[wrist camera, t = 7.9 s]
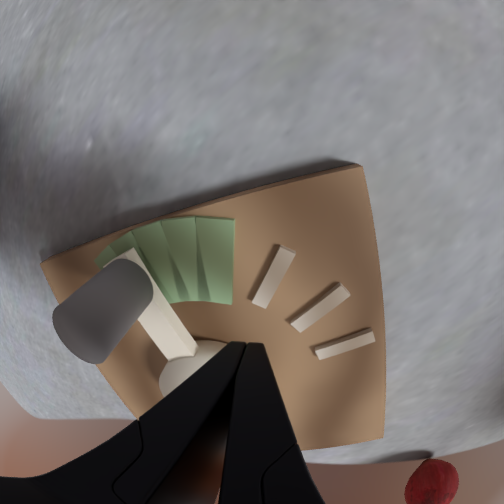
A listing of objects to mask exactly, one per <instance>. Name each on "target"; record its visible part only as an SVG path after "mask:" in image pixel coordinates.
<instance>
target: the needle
mask: <svg viewBox="0 0 504 504" xmlns="http://www.w3.org/2000/svg"><path fill="white" fill-rule="evenodd" d="M52 319H53V325H54V328H55V330H56V332H57V334H58V336H59V338H60V339H61V341H62V342H63V343H64V345H65V346H66V347H67V348H68V349H69V350H70V351H71V352H72V353H73V354H74V355H76V356H77V357H78V358H80V359H82V360H84V361H86V362H88V363H91V364H101V363H103V362H104V361H105V360H106V359H107V357H108V356H109V355H110V353H111V352H112V351H113V350H114V348H115V347H116V346H117V344H118V343H119V342H120V340H121V339H122V338H123V337H124V335H125V334H126V333H127V332H128V330H129V329H130V328H131V326H132V325H133V324H134V323H135V321H136V320H137V319H138V321H139V322H140V323H141V325H142V326H143V328H144V329H145V330H146V332H147V333H148V334H149V336H150V337H151V339H152V340H153V341H154V342H155V344H156V345H157V346H158V348H159V349H160V350H161V352H162V353H163V354H164V355H165V357H166V358H167V359H168V362H167V364H166V365H165V367H164V369H163V371H162V373H161V375H160V378H159V387H160V390H161V393H162V395H163V396H164V397H165V396H166V395H168V394H169V393H170V392H171V391H173V390H174V389H175V388H176V387H177V386H179V385H180V384H181V383H182V382H183V381H185V380H186V379H187V378H188V377H189V376H191V375H192V374H193V373H194V372H195V371H197V370H198V369H199V368H200V367H201V366H202V365H204V364H205V363H206V362H207V361H208V360H209V359H211V358H212V357H213V356H214V355H215V354H216V353H218V352H219V351H220V350H221V349H222V348H223V347H224V346H226V345H227V344H226V343H222V342H218V341H210V340H198V341H194V339H193V338H192V336H191V335H190V334H189V332H188V331H187V329H186V328H185V326H184V325H183V324H182V322H181V321H180V319H179V318H178V316H177V315H176V313H175V312H174V310H173V309H172V307H171V306H170V304H169V303H168V301H167V300H166V298H165V297H164V295H163V294H162V292H161V291H160V289H159V288H158V286H157V285H156V283H155V281H154V280H153V278H152V277H151V275H150V273H149V272H148V270H147V269H146V267H145V265H144V264H143V262H142V260H141V259H140V257H139V255H138V254H137V252H136V250H135V249H134V247H133V248H131V249H130V250H128V251H126V252H124V253H123V254H121V255H119V256H118V257H116V258H114V259H112V260H111V261H110V262H108V263H107V264H106V265H105V266H103V269H102V270H101V271H99V272H98V273H97V274H96V275H94V276H93V277H92V278H91V279H89V280H88V281H87V282H86V283H85V284H83V285H82V286H81V287H80V288H79V289H77V290H76V291H75V292H74V293H73V294H71V295H70V296H69V297H68V298H67V299H65V300H64V301H63V302H62V303H61V304H60V305H58V306H57V307H56V308H55V309H54V311H53V316H52Z"/></svg>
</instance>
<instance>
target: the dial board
mask: <svg viewBox="0 0 504 504" xmlns="http://www.w3.org/2000/svg"><path fill="white" fill-rule="evenodd" d="M133 247H134V249H135V250H136V252H137V254H138V255H139V257H140V259H141V260H142V262H143V264H144V265H145V267H146V269H147V270H148V272H149V273H150V275H151V277H152V278H153V280H154V281H155V283H156V285H157V286H158V288H159V289H160V291H161V292H162V294H163V295H164V297H165V298H166V300H167V301H168V303H169V304H170V306H171V307H172V309H173V310H174V312H175V313H176V315H177V316H178V318H179V319H180V321H181V322H182V324H183V325H184V326H185V328H186V329H187V331H188V332H189V334H190V335H191V336H192V338H193V339H194V341H198V340H210V341H218V342H222V343H226V344H228V343H229V342H231V341H244V342H246V343H248V342H261V343H263V344H264V345H265V348H266V351H267V354H268V357H269V360H270V363H271V366H272V369H273V372H274V375H275V378H276V381H277V384H278V387H279V390H280V393H281V396H282V399H283V401H284V404H285V407H286V410H287V413H288V416H289V419H290V422H291V425H292V427H293V430H294V433H295V436H296V439H297V444H298V445H299V447H300V450H301V451H302V450H312V449H321V448H329V447H336V446H343V445H349V444H355V443H361V442H366V441H371V440H375V439H380V438H383V436H384V421H385V401H386V342H385V321H384V305H383V293H382V283H381V273H380V264H379V256H378V249H377V242H376V235H375V228H374V222H373V216H372V210H371V205H370V200H369V194H368V189H367V184H366V180H365V175H364V171H363V166H361V165H359V164H357V163H356V164H352V165H347V166H342V167H338V168H333V169H329V170H325V171H320V172H316V173H312V174H308V175H304V176H299V177H295V178H291V179H287V180H283V181H280V182H276V183H272V184H268V185H264V186H261V187H257V188H253V189H249V190H246V191H242V192H239V193H235V194H232V195H228V196H225V197H221V198H218V199H214V200H211V201H208V202H204V203H201V204H198V205H195V206H191V207H188V208H185V209H182V210H179V211H175V212H172V213H169V214H166V215H163V216H160V217H157V218H154V219H151V220H148V221H145V222H142V223H139V224H136V225H133V226H131V227H128V228H125V229H122V230H119V231H116V232H114V233H111V234H108V235H105V236H103V237H100V238H97V239H95V240H92V241H89V242H87V243H84V244H81V245H79V246H76V247H74V248H71V249H69V250H66V251H63V252H61V253H59V254H56V255H54V256H51V257H49V258H48V259H46V260H45V261H43V262H42V263H40V266H41V268H42V270H43V273H44V275H45V277H46V279H47V281H48V283H49V285H50V287H51V289H52V291H53V293H54V295H55V297H56V299H57V301H58V303H59V305H60V304H61V303H62V302H63V301H64V300H65V299H67V298H68V297H69V296H70V295H71V294H73V293H74V292H75V291H76V290H77V289H79V288H80V287H81V286H82V285H83V284H85V283H86V282H87V281H88V280H89V279H91V278H92V277H93V276H94V275H96V274H97V273H98V272H99V271H101V270H102V269H103V266H105V265H106V264H107V263H108V262H110V261H111V260H112V259H114V258H116V257H118V256H119V255H121V254H123V253H124V252H126V251H128V250H130V249H131V248H133ZM167 362H168V359H167V358H166V357H165V355H164V354H163V353H162V352H161V350H160V349H159V348H158V346H157V345H156V344H155V342H154V341H153V340H152V339H151V337H150V336H149V334H148V333H147V332H146V330H145V329H144V328H143V326H142V325H141V323H140V322H139V321H138V319H137V320H136V321H135V323H134V324H133V325H132V326H131V328H130V329H129V330H128V332H127V333H126V334H125V335H124V337H123V338H122V339H121V340H120V342H119V343H118V344H117V346H116V347H115V348H114V350H113V351H112V352H111V353H110V355H109V356H108V357H107V359H106V360H105V361H104V362H103V363H101V364H96V366H97V367H98V369H99V370H100V372H101V373H102V375H103V376H104V377H105V379H106V380H107V381H108V383H109V384H110V386H111V387H112V388H113V390H114V391H115V392H116V394H117V395H118V396H119V397H120V399H121V400H122V401H123V403H124V404H125V405H126V406H127V408H128V409H129V410H130V411H131V412H132V414H133V415H134V416H135V417H136V418H137V420H139V417H140V416H141V415H143V414H144V413H145V412H146V411H148V410H149V409H150V408H152V407H153V406H154V405H155V404H157V403H158V402H159V401H160V400H161V399H163V398H164V396H163V395H162V393H161V390H160V387H159V378H160V375H161V373H162V371H163V369H164V367H165V365H166V364H167Z"/></svg>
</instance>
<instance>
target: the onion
mask: <svg viewBox="0 0 504 504" xmlns="http://www.w3.org/2000/svg"><path fill="white" fill-rule="evenodd" d="M458 485H459V478H458V473H457V471H456V469H455V467H454V466H453V465H452V464H450V463H448V462H445V461H442V460H438V459H426V460H425V461H423V462H422V464H421V465H420V466H419V467H418V468H417V469H416V471H415V472H414V473H413V474H412V476H411V477H410V478H409V481H408V483H407V485H406V487H405V494H404V495H405V501H406V503H407V504H449V503H450V502H451V501H452V499H453V498H454V496H455V494H456V492H457V489H458Z"/></svg>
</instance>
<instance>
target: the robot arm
mask: <svg viewBox="0 0 504 504" xmlns="http://www.w3.org/2000/svg"><path fill="white" fill-rule="evenodd" d="M220 486H221V487H220ZM219 489H220V494H219V501H218V504H325V502H324V501H323V499H322V497H321V495H320V493H319V491H318V490H317V487H316V485H315V483H314V481H313V479H312V477H311V475H310V473H309V470H308V468H307V466H306V463H305V460H304V458H303V455H302V452H301V450H300V447H299V445H298V444H297V439H296V436H295V433H294V430H293V427H292V425H291V422H290V419H289V416H288V413H287V410H286V407H285V404H284V401H283V399H282V396H281V393H280V390H279V387H278V384H277V381H276V378H275V375H274V372H273V369H272V366H271V363H270V360H269V357H268V354H267V351H266V348H265V345H264V344H263V343H261V342H248V343H246V342H244V341H231V342H229V343H228V344H227V345H226V346H224V347H223V348H222V349H221V350H220V351H219V352H218V353H216V354H215V355H214V356H213V357H212V358H211V359H209V360H208V361H207V362H206V363H205V364H204V365H202V366H201V367H200V368H199V369H198V370H197V371H195V372H194V373H193V374H192V375H191V376H189V377H188V378H187V379H186V380H185V381H183V382H182V383H181V384H180V385H179V386H177V387H176V388H175V389H174V390H173V391H171V392H170V393H169V394H168V395H166V396H165V397H164V398H163V399H161V400H160V401H159V402H158V403H157V404H155V405H154V406H153V407H152V408H150V409H149V410H148V411H146V412H145V413H144V414H143V415H141V416H140V417H139V420H137V419H136V420H135V421H133V422H132V423H131V424H130V425H128V426H127V427H126V428H124V429H123V430H122V431H120V432H119V433H117V434H116V435H115V436H113V437H112V438H110V439H109V440H107V441H106V442H104V443H102V444H101V445H99V446H97V447H96V448H94V449H92V450H91V451H89V452H87V453H85V454H84V455H81V456H80V457H78V458H76V459H74V460H72V461H70V462H68V463H67V464H65V465H62V466H61V467H59V468H57V469H55V470H53V471H50V472H48V473H46V474H43V475H39V476H35V477H27V478H18V477H2V476H0V504H214V503H215V501H216V498H217V495H218V492H219Z"/></svg>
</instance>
